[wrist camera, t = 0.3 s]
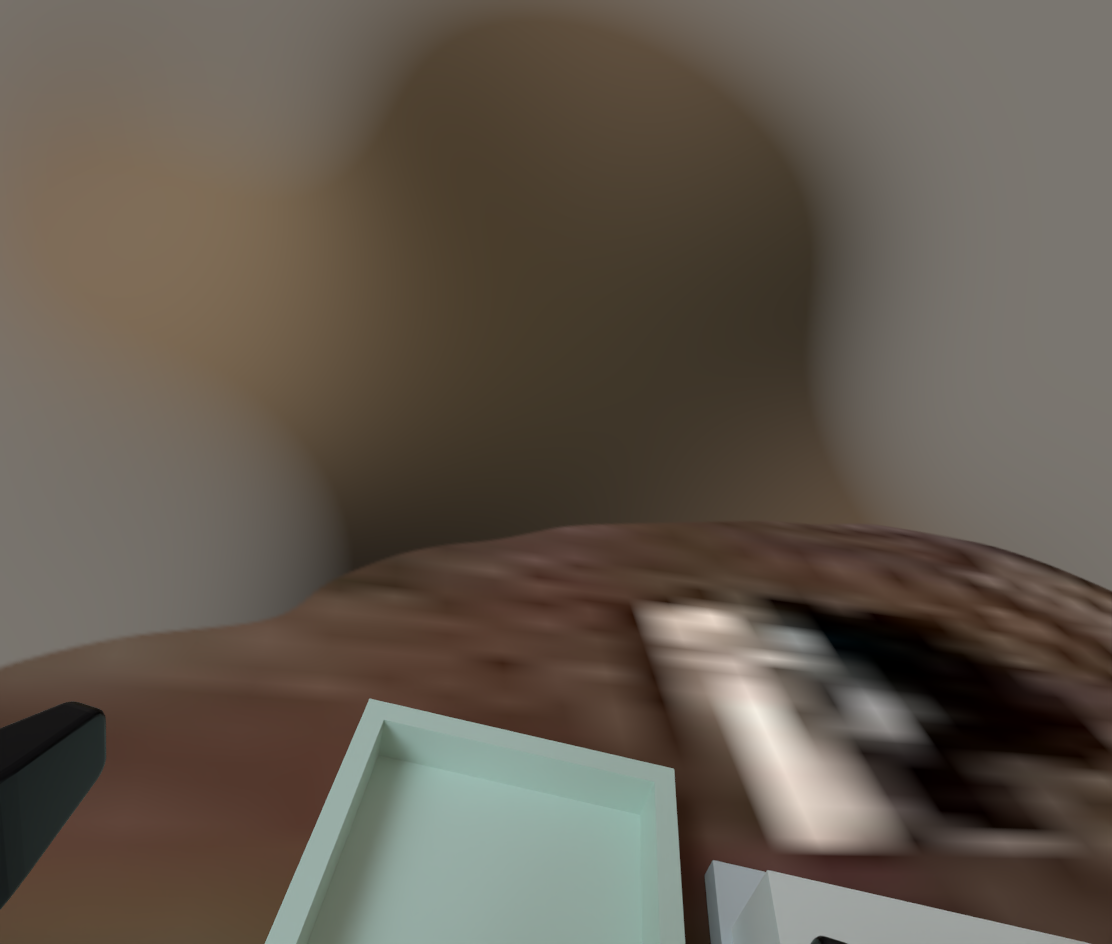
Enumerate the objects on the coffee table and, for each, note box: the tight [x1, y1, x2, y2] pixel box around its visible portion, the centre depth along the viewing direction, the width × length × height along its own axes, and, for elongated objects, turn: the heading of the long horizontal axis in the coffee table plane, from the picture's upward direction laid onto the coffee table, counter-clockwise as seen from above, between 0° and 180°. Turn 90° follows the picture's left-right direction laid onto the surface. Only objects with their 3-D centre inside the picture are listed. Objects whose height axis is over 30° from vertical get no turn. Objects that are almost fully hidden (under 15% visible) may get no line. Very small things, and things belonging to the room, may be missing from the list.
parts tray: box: [265, 699, 685, 944], centre depth 23 cm, size 12×12×3 cm
